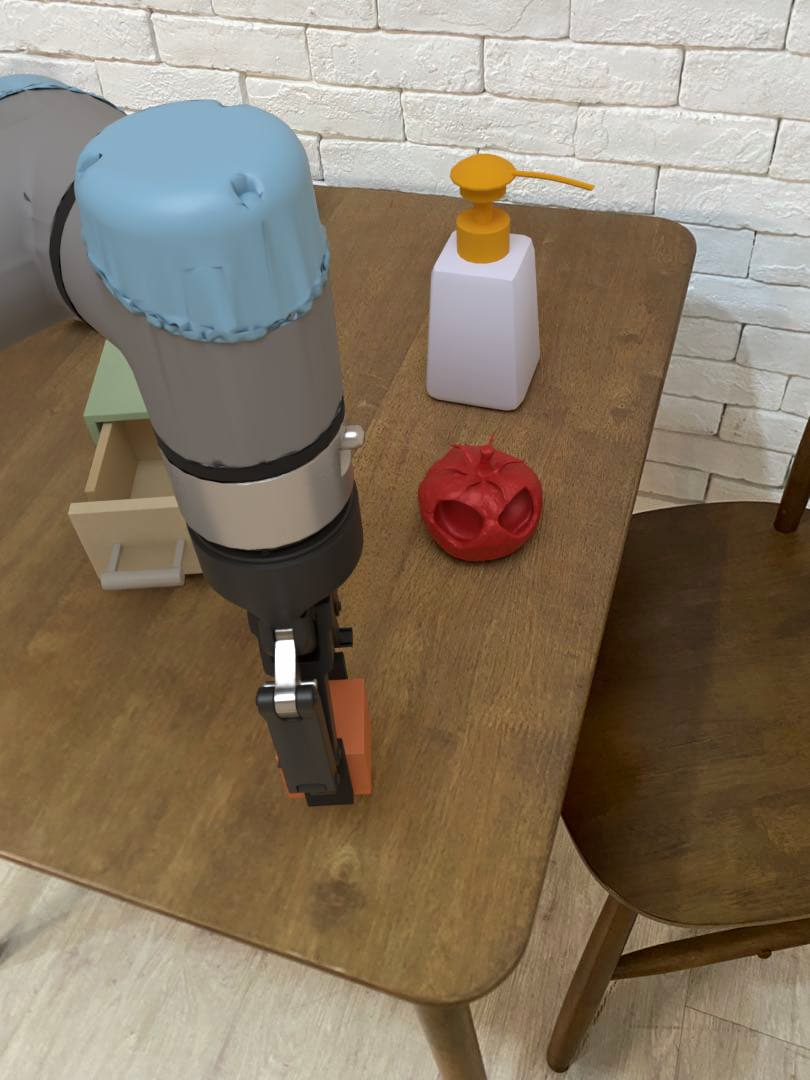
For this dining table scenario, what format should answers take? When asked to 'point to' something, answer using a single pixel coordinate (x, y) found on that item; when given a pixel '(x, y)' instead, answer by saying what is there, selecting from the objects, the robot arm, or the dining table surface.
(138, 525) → the drawer
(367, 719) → the block
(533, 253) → the soap bottle
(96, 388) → the cabinet
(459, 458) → the red carved tomato
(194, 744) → the dining table surface
